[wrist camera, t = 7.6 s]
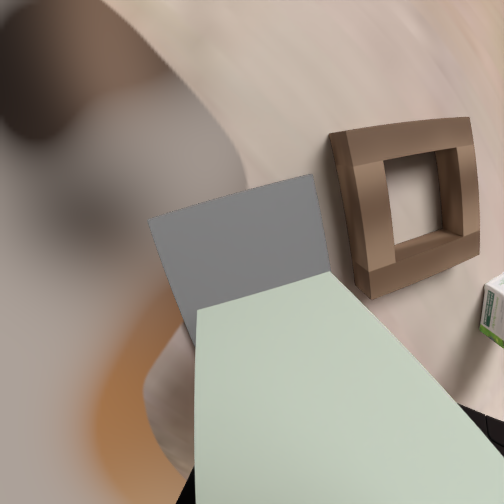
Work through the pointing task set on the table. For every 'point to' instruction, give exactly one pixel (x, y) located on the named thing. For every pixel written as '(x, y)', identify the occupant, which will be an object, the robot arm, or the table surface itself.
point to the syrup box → (493, 310)
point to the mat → (241, 245)
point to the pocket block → (378, 206)
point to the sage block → (326, 409)
